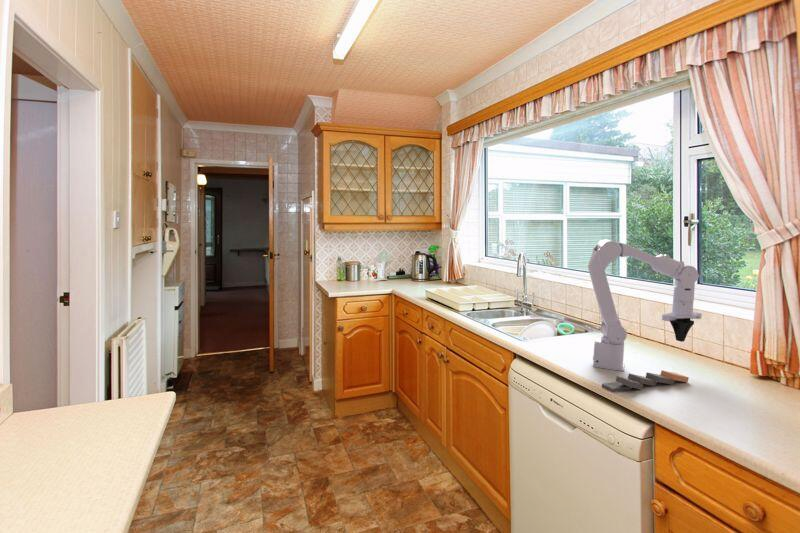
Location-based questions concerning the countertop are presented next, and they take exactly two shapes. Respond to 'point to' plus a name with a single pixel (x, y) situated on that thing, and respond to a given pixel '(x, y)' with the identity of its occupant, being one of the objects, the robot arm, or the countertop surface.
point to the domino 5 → (674, 376)
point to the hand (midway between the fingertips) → (680, 340)
